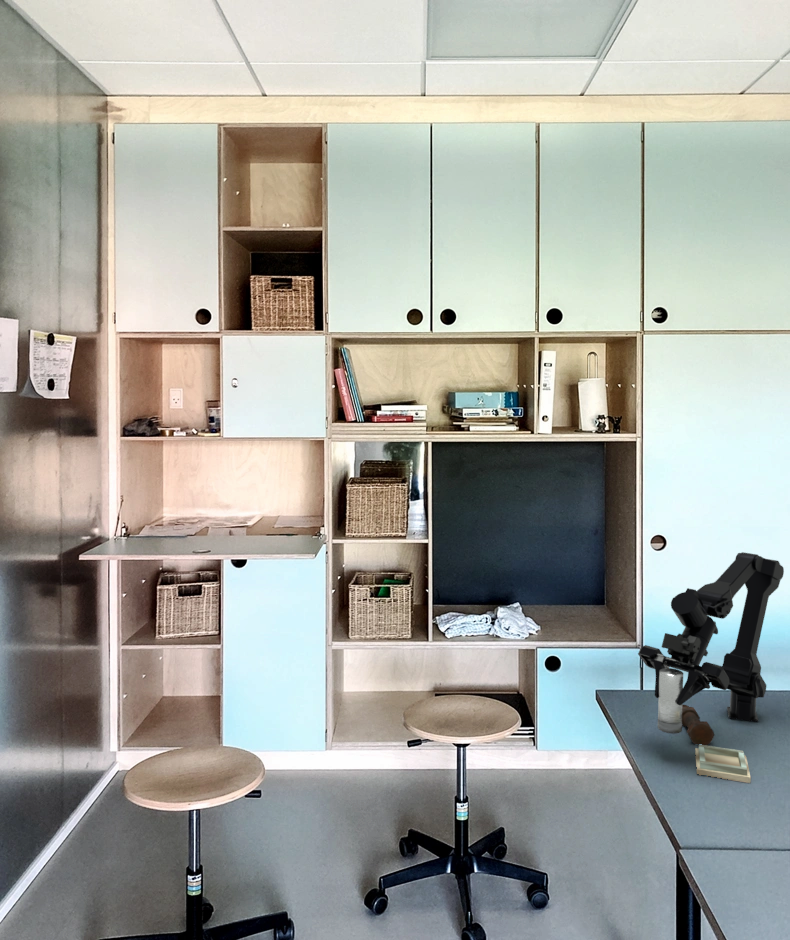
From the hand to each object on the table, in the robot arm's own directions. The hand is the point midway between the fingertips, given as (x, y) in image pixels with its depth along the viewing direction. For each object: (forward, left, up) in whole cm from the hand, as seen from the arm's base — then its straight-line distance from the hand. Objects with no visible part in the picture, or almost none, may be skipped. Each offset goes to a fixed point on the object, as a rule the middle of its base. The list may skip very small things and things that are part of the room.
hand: (667, 700), depth 160 cm
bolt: (-17, +6, -14) cm, 23 cm away
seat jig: (0, +11, -13) cm, 17 cm away
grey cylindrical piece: (-1, +1, -7) cm, 7 cm away
